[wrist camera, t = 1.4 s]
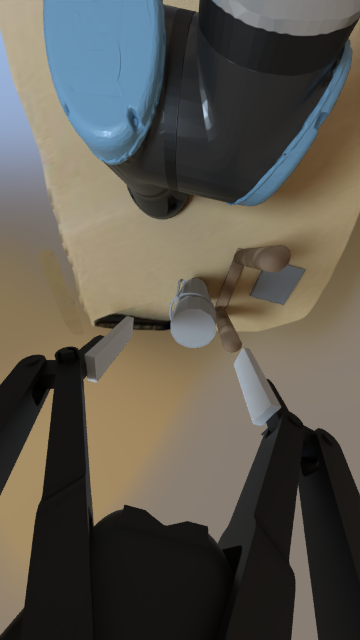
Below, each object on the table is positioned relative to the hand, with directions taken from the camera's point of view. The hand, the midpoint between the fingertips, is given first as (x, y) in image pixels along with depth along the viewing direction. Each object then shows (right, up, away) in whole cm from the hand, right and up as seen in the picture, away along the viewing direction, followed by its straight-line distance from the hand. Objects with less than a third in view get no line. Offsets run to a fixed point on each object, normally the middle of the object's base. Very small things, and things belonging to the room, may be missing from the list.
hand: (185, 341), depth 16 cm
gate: (+14, +13, +24) cm, 30 cm away
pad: (+26, +13, +22) cm, 37 cm away
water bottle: (+3, +13, +26) cm, 29 cm away
